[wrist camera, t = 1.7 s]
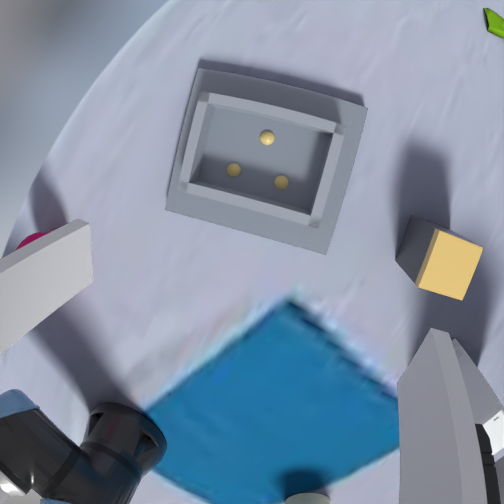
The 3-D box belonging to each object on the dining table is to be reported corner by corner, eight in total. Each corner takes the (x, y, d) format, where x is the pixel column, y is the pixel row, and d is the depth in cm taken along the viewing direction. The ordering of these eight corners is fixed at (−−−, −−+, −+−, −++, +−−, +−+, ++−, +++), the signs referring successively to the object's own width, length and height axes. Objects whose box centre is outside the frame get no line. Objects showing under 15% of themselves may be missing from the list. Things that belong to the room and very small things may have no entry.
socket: (324, 251, 35) (328, 264, 31) (170, 207, 36) (153, 214, 32) (365, 110, 30) (374, 103, 26) (202, 71, 31) (189, 60, 27)
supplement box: (404, 378, 38) (433, 459, 24) (454, 335, 35) (503, 407, 21) (433, 406, 39) (461, 479, 25) (478, 368, 36) (520, 435, 22)
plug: (433, 273, 34) (462, 300, 26) (395, 260, 34) (418, 287, 26) (449, 229, 32) (483, 248, 24) (411, 214, 32) (439, 230, 25)
